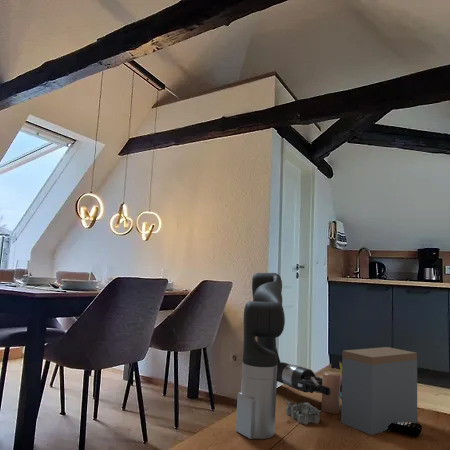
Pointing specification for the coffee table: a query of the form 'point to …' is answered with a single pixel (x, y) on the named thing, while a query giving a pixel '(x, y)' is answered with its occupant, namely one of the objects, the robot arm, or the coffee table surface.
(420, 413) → the coffee table surface
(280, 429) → the coffee table surface
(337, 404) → the pinkish-brown cylinder
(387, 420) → the counter
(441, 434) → the coffee table surface
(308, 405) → the egg carton
